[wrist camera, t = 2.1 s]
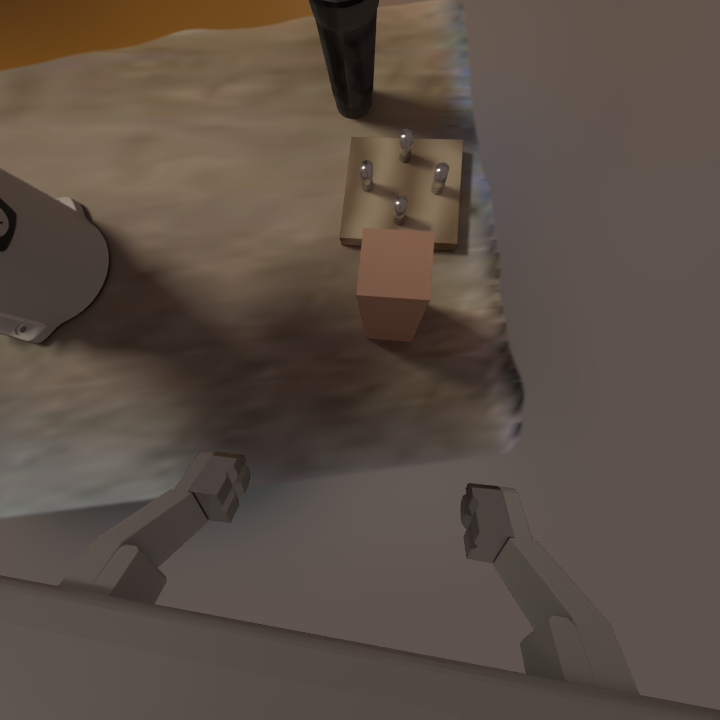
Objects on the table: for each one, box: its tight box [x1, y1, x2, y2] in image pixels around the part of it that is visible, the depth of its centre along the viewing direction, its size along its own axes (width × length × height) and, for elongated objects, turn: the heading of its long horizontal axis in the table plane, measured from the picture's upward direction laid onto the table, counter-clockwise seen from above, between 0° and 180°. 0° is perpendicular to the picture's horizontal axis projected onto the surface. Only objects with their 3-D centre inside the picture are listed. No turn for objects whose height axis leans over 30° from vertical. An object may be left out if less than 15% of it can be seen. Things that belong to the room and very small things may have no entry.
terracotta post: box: [356, 228, 435, 342], centre depth 27 cm, size 5×5×13 cm
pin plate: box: [340, 129, 463, 251], centre depth 34 cm, size 13×13×4 cm
